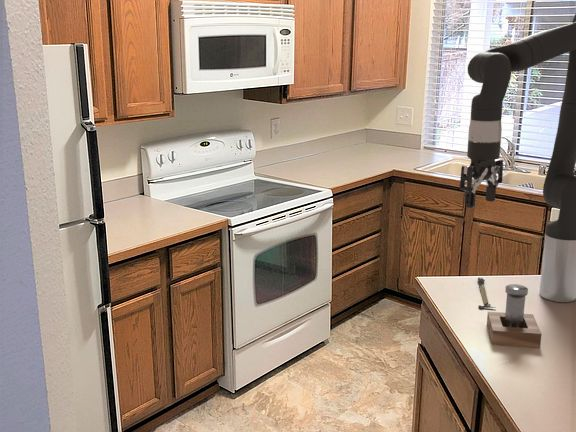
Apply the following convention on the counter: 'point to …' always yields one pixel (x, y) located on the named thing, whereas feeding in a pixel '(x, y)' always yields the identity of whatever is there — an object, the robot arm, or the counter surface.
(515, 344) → the socket block
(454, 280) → the counter surface
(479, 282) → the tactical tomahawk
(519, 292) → the pin
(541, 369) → the counter surface
